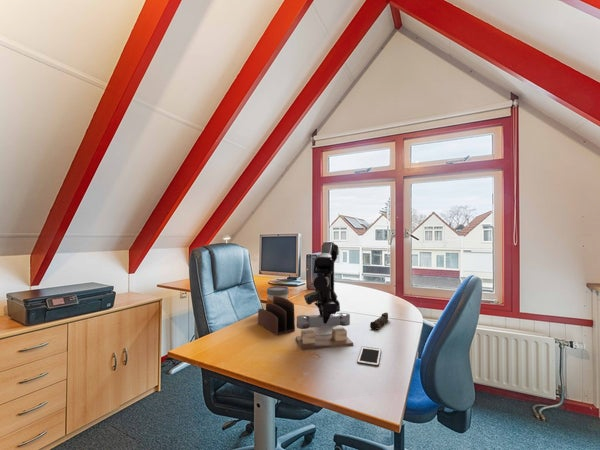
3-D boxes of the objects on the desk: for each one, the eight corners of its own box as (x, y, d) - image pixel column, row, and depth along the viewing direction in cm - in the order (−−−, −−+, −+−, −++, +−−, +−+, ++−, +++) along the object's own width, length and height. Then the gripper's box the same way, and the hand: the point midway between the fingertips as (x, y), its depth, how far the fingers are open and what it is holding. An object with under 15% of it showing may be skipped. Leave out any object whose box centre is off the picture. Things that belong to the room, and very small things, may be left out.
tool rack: (295, 338, 126) (295, 327, 126) (342, 335, 131) (342, 324, 131) (301, 350, 114) (301, 337, 114) (353, 345, 119) (353, 333, 119)
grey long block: (346, 321, 128) (346, 312, 128) (351, 325, 122) (351, 316, 122) (295, 324, 123) (295, 315, 123) (298, 329, 117) (298, 319, 117)
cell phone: (381, 351, 114) (381, 348, 114) (378, 368, 100) (378, 365, 100) (361, 348, 117) (361, 346, 117) (356, 364, 103) (356, 361, 103)
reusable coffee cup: (262, 315, 159) (262, 288, 160) (275, 310, 170) (275, 285, 170) (280, 319, 153) (280, 291, 153) (293, 313, 163) (293, 287, 164)
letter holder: (274, 320, 152) (274, 293, 152) (295, 331, 135) (295, 301, 136) (257, 324, 146) (257, 296, 146) (277, 335, 130) (277, 304, 130)
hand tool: (377, 331, 136) (377, 321, 136) (369, 329, 139) (369, 319, 139) (392, 321, 151) (392, 312, 151) (385, 319, 154) (385, 311, 154)
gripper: (300, 282, 130) (300, 316, 130) (311, 291, 112) (311, 331, 112) (324, 281, 133) (324, 315, 132) (338, 290, 114) (338, 329, 114)
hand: (323, 322), depth 123 cm, fingers closed on grey long block, 3 cm apart
